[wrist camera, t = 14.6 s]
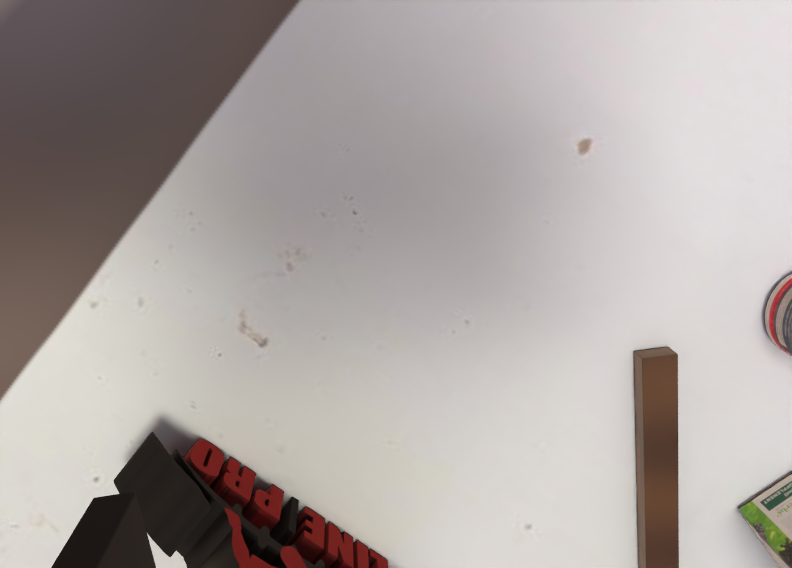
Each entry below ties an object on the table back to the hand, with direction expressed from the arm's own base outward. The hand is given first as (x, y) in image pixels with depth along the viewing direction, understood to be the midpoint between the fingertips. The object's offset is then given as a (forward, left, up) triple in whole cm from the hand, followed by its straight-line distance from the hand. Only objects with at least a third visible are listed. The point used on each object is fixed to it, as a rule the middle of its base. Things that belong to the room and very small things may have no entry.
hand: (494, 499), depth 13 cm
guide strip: (+20, +13, -25) cm, 35 cm away
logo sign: (+16, -9, -25) cm, 31 cm away
